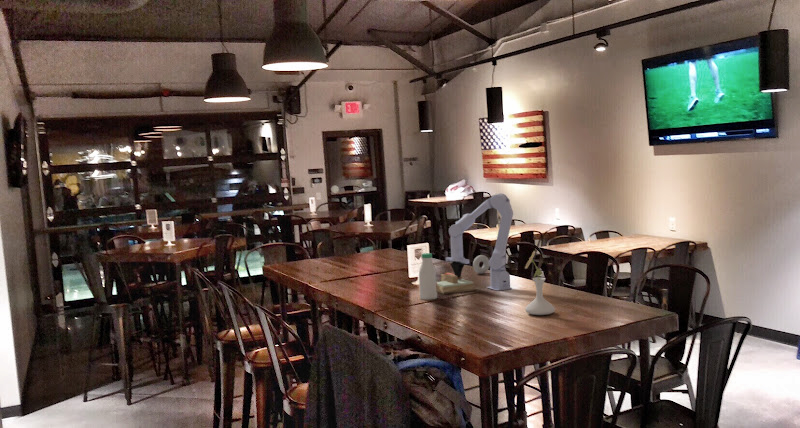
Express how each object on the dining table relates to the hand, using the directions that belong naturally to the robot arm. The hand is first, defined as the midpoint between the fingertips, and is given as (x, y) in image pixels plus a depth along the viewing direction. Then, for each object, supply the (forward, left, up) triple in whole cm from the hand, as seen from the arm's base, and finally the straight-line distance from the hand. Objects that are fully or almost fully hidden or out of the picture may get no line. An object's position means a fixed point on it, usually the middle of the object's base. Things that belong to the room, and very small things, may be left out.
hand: (458, 277), depth 324 cm
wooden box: (-5, +5, -5) cm, 9 cm away
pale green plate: (-5, +5, -2) cm, 8 cm away
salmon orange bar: (+6, 0, -1) cm, 6 cm away
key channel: (+7, 0, -5) cm, 8 cm away
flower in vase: (-68, +2, -5) cm, 68 cm away
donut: (+26, -29, -5) cm, 39 cm away
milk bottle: (-15, +23, -5) cm, 28 cm away
